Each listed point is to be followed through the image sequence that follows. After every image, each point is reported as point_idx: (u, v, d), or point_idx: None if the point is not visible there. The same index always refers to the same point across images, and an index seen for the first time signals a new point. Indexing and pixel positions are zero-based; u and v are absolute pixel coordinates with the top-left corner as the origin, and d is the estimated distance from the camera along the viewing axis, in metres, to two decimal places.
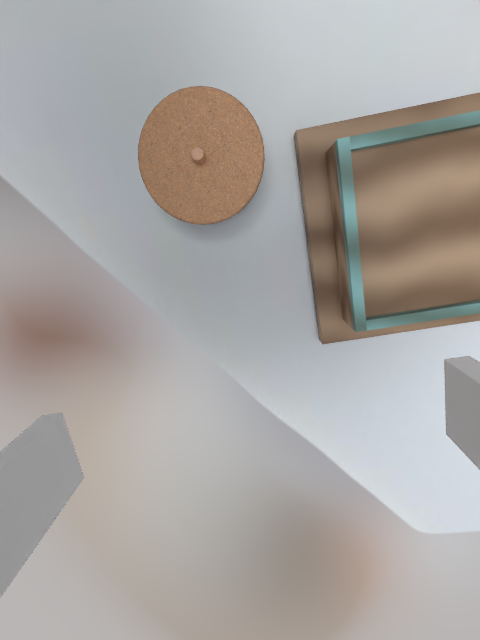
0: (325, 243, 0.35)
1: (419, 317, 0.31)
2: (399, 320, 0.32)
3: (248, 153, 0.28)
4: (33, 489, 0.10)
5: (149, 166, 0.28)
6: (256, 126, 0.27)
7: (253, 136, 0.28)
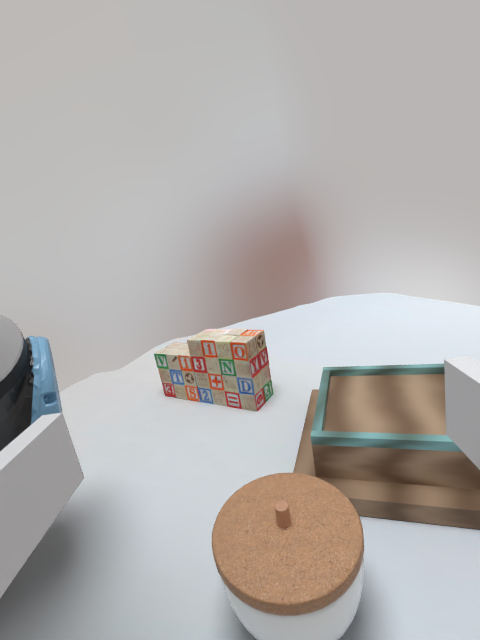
0: (406, 490, 0.32)
1: None
2: None
3: (297, 482, 0.28)
4: (33, 489, 0.10)
5: (268, 583, 0.20)
6: (278, 473, 0.29)
7: (285, 476, 0.29)
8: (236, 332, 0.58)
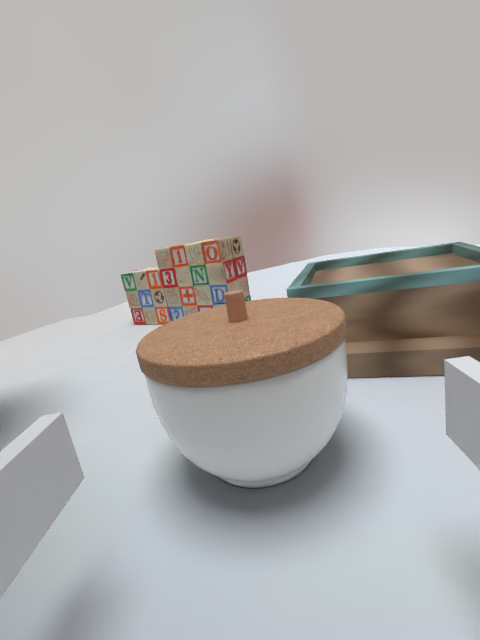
0: (404, 343, 0.26)
1: None
2: None
3: (263, 301, 0.21)
4: (33, 489, 0.10)
5: (203, 351, 0.14)
6: None
7: (248, 301, 0.22)
8: None
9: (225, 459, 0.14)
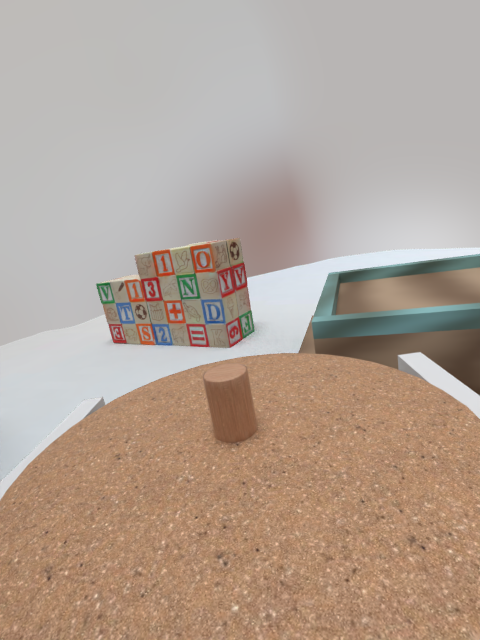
0: None
1: None
2: None
3: (283, 362, 0.11)
4: None
5: None
6: (240, 357, 0.13)
7: (255, 358, 0.12)
8: (202, 242, 0.42)
9: None
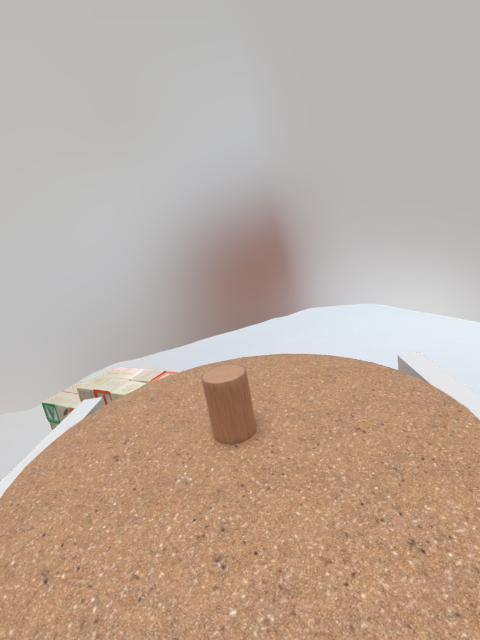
0: None
1: None
2: None
3: (282, 363, 0.11)
4: None
5: None
6: (240, 358, 0.13)
7: (254, 359, 0.12)
8: (147, 375, 0.40)
9: None
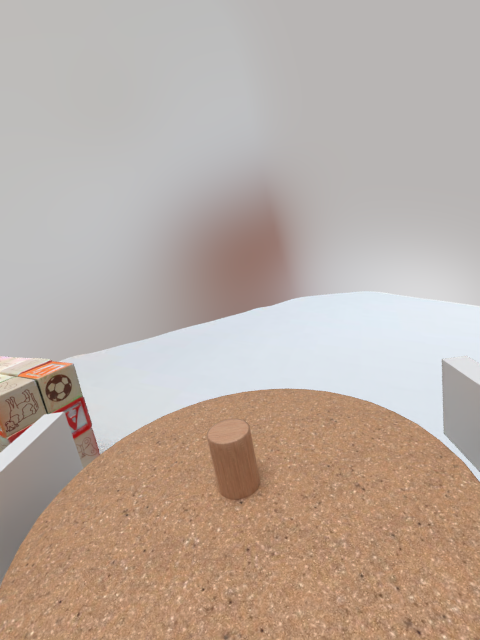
0: None
1: None
2: None
3: (284, 401, 0.12)
4: (35, 488, 0.10)
5: None
6: (242, 392, 0.13)
7: (257, 394, 0.13)
8: (22, 366, 0.29)
9: None
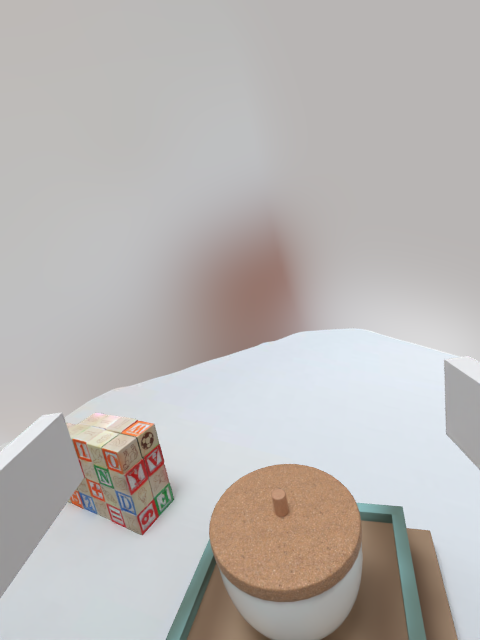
0: None
1: None
2: None
3: (295, 472, 0.28)
4: (33, 489, 0.10)
5: (266, 570, 0.20)
6: (275, 465, 0.29)
7: (282, 467, 0.29)
8: (120, 425, 0.45)
9: (280, 638, 0.21)
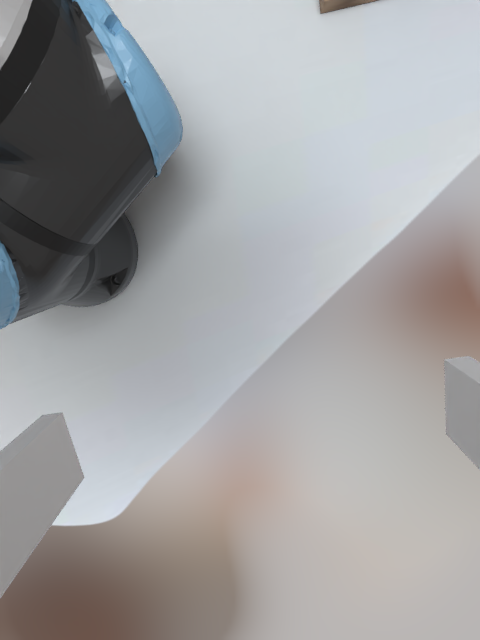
0: None
1: None
2: None
3: None
4: (33, 489, 0.10)
5: None
6: None
7: None
8: None
9: None
